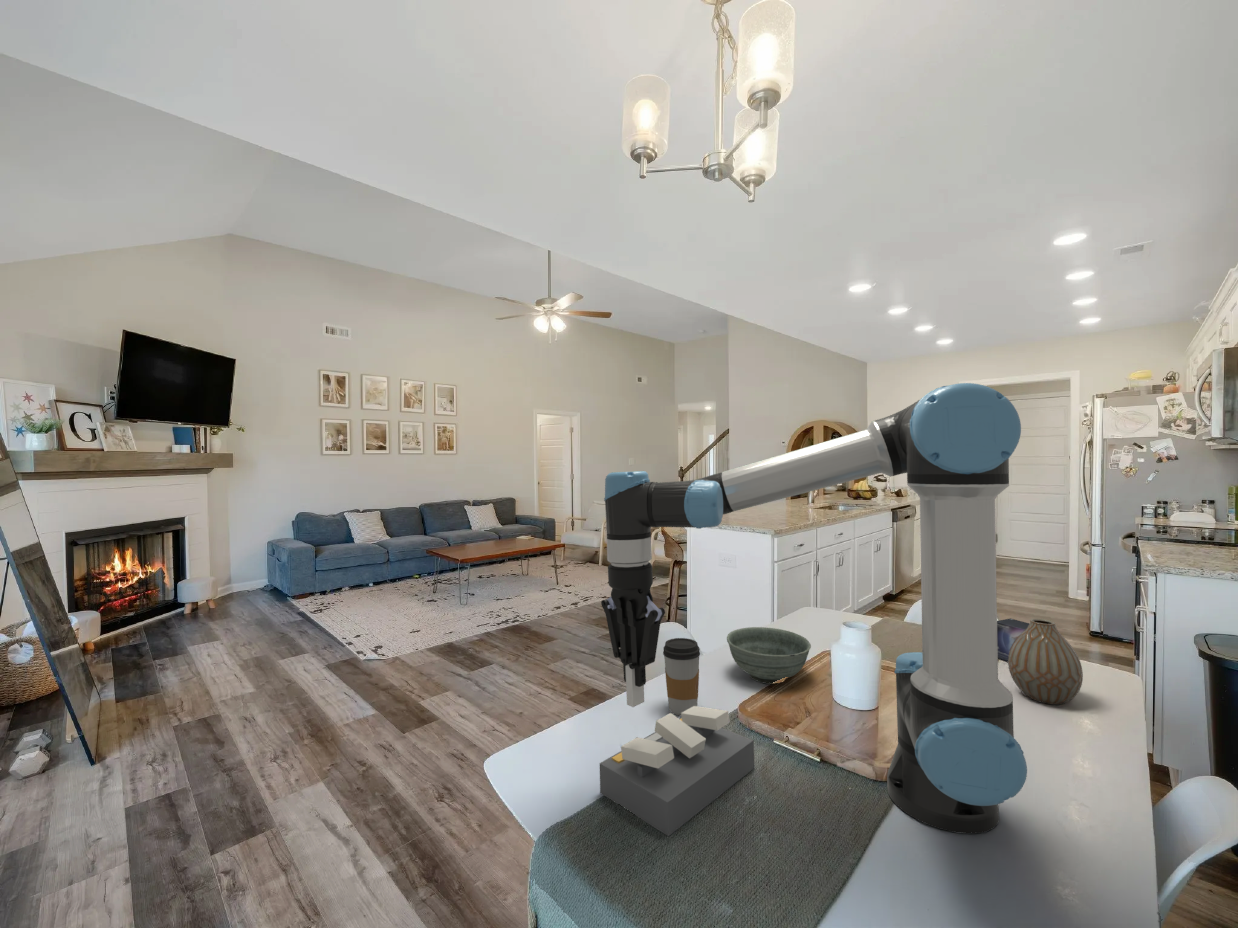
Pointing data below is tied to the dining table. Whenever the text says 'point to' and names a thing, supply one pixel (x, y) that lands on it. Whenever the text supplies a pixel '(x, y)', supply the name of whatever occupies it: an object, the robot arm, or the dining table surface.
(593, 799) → the dining table surface
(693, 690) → the coffee cup
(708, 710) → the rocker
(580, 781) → the dining table surface
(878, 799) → the dining table surface
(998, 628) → the small box
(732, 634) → the bowl
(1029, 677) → the vase
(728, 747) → the switch unit
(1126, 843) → the dining table surface
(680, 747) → the rocker
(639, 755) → the rocker
